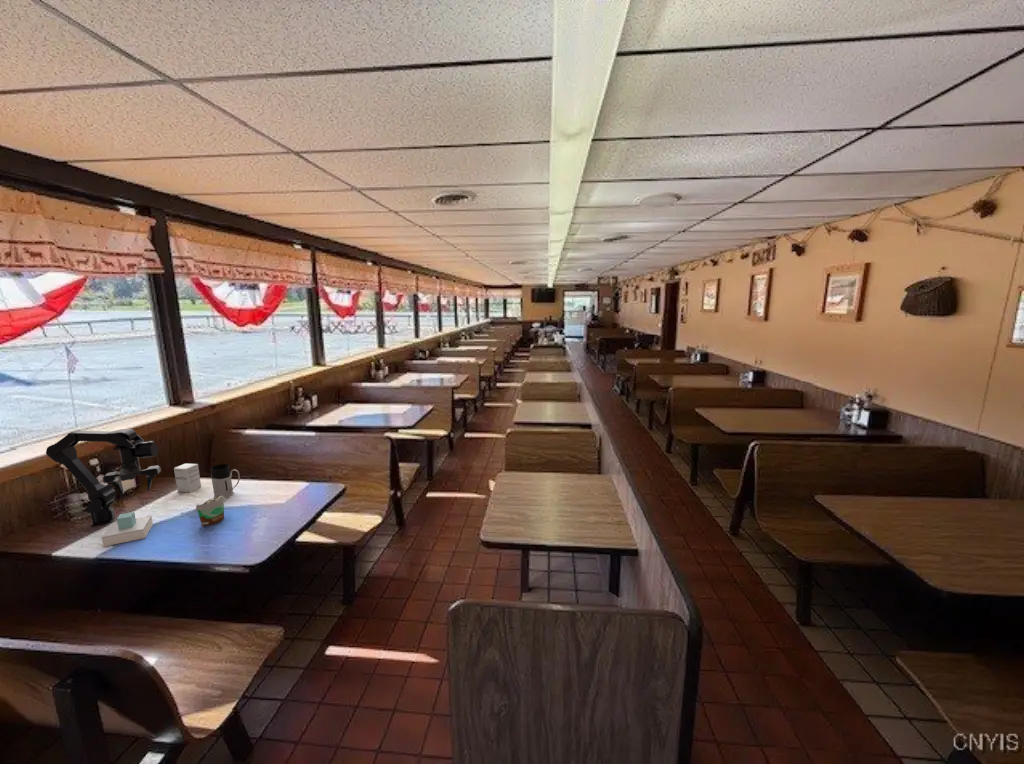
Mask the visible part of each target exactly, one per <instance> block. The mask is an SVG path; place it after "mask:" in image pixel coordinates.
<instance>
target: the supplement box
mask: <svg viewBox="0 0 1024 764" xmlns="http://www.w3.org/2000/svg"><path fill="white" fill-rule="evenodd" d="M173 470H174V471H173V472H174V477H175V483H176V490H177V492H179V493H180V492H181V493H182V492H183V493H185V492H186V493H191V492H194V491H196V490H198V489H200V488H202V483H201V476H200V469H199V464H198V463H183V464H181V465H178V466H175V467H174V468H173Z"/></svg>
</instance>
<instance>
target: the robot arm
mask: <svg viewBox="0 0 1024 764" xmlns="http://www.w3.org/2000/svg"><path fill="white" fill-rule="evenodd" d="M79 442H95V443H96V442H97V443H99V442H101V443H102V442H103V443H104V442H105V443H110V444H112V445H115V447H113V448H112V450H113V451H119V452H118V453H119V456H120V461H121V463H120V470H119V471H111V472H107V473H106V474H105V475H104V476H103V477H102V482H103V483H101V482H100V481H99V480H98V479H97V477H96V476H95V475H94V474H93V473H92V472H91V470H89V469H88V467H86V465H85V464H84V463H83V462H82V461H81V460H80V459H79V458H78V453H77V449H76V447H75V446H77V444H79ZM159 449H160V448H159V446H158V445H157V443H155V440H149V441H145V440H144V438H142V437H141V436H140V435H139V434H138V433H137V432H136V431H135V430H134V429H133V428H123V429H117V430H112V431H108V430H106V431H105V430H104V431H103V430H102V431H101V430H80V429H79V430H78V429H76V430H73V431H71V432H69V433H67V434H66V435H65V436H64V437H63V438H61V439H59V440H58V441H57V442H55V443H54V444H51V445H49V446H48V447H47V448H46V451H45V454H46V456H48V457H49V458H50V459H51V460H52V461H53V462H56V463H58V464H60V465H63V466H64V467H65V468H66V470H67V471H68V472H69V473H70V474H72V476H73V477H74V478H75V480H77V481H78V482H79V484H81V486H82V487H83V488H84V489H85V490H86V492H87V498H88V500H89V502H90V503H89V504H88V505H87V506H86V507H85V511H86V513H88V514H90V515H91V516H90V517H91V521H92V523H91V524H90V526H96V525H97V526H98V525H103V524H107V523H111V522H112V521H113V519H114V518H116V516H115V512H114V507H112V504H114V501H115V499H116V497H117V493H116V491H118V492H119V493H120V495H121V496H122V495H124V487H123V483H122V482H125V481H130V480H134V479H136V476H140V475H146V484H147V490H148V491H150V489H151V487H152V482H153V479H154V478H155V477H156V475H159V474H160V473H161V471H162V469H161V466H159V465H157V464H156V465H151V466H148V467H147V468H146V469H142V467H141V466H140V465H141V464H140V458H141V459H142V458H152V457H153V458H154V457H155V458H156V457H157V456H158V454H159V451H160V450H159ZM112 485H113V486H114V487H115V488H116V489H117V490H116V489H114V488H113V487H112Z"/></svg>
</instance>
